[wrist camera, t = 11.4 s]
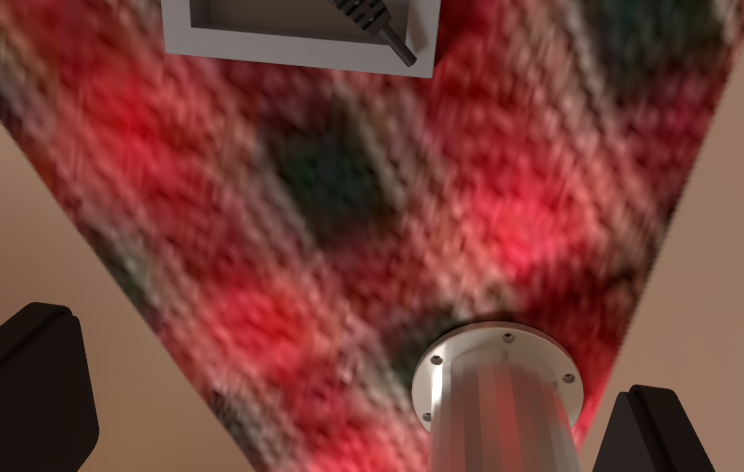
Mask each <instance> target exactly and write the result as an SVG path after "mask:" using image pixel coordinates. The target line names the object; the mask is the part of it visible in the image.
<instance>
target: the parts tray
mask: <svg viewBox="0 0 744 472" xmlns="http://www.w3.org/2000/svg"><path fill="white" fill-rule="evenodd" d="M382 1H383V2H384V5H385V6H386V7H387V9H388V11H389V12H390V14H391V20H390V21H389V22H388V24H389V26H390V27H391V28H392V29H393V30H394V32H395V33H396V34H397V35H398V36H399V37H400V39H401V40H402V41H403V42H404V43H405V45H406V46H407V47H408V48H409V49H410V51H411V52H412V53H413V54H414V55H415V56H416V58H417V61H416V62H415V63H414V65H412V66H411V67H407V66H406V65H405V63H404V62H403V61H402V60H401V59H400V58H399V57H398V55H397V54H396V53H395V52H394V51H393V50H392V48H391V47H390V46H389V45H388V44H387V43H386V42H385V40H384V39H383V38H382V37H381V36H380V35H379V33H377V34H376V35H374V36H370V35H368V34H367V33H366V32H365V31H364V30H363V29H362V28H361V27H359V26H358V25H356V24H355V23H354V21H353V20H350V19H349V18H348V17H347V16H346V15H345V14H344V13H342V12H341V11H339V10H338V8H337V7H336V6H333V5H332V4H331V3H330V2H329V1H328V0H161V4H162V16H163V28H164V40H165V52H166V53H173V54H183V55H194V56H204V57H215V58H225V59H236V60H246V61H257V62H267V63H277V64H288V65H298V66H309V67H319V68H330V69H340V70H351V71H361V72H372V73H382V74H393V75H403V76H414V77H424V78H432V75H433V70H434V62H435V54H436V45H437V36H438V27H439V18H440V10H441V1H442V0H382Z"/></svg>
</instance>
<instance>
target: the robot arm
mask: <svg viewBox="0 0 744 472" xmlns="http://www.w3.org/2000/svg"><path fill="white" fill-rule="evenodd" d="M412 399H413V405H414V408H415V411H416V414H417V416H418V418H419V420H420V421H421V423H422V424H423V426H424V427H425V428H426V430H427V431H428V432H429V433H430V444H429V463H428V472H581V469H580V465H579V461H578V457H577V453H576V449H575V444H574V440H573V436H572V432H571V429H572V427H573V426H574V425H575V423H576V422H577V420H578V417H579V415H580V413H581V410H582V405H583V399H584V394H583V384H582V380H581V377H580V373H579V370H578V368H577V366H576V364H575V362H574V360H573V358H572V357H571V356H570V354H569V353H568V352H567V351H566V349H565V348H564V347H563V346H562V345H560V344H559V343H558V342H557V341H556V340H554V339H553V338H552V337H550V336H548V335H546V334H545V333H543V332H541V331H539V330H537V329H534V328H531V327H528V326H526V325H523V324H517V323H512V322H506V321H486V322H479V323H473V324H469V325H466V326H463V327H460V328H456V329H454V330H452V331H451V332H449V333H447V334H445V335H443V336H441V337H440V338H439V339H438V340H436V341H435V342H434V343H433V344H431V345H430V346H429V348H428V349H427V350H426V351H425V352H424V354H423V355H422V356H421V358H420V360H419V362H418V364H417V366H416V369H415V373H414V376H413V384H412ZM98 437H99V425H98V419H97V414H96V408H95V403H94V398H93V392H92V386H91V381H90V376H89V370H88V364H87V359H86V354H85V348H84V342H83V337H82V331H81V326H80V322H79V319H78V318H77V317H76V316H73V315H72V312H71V310H70V309H69V308H68V307H66V306H61V305H54V304H46V303H39V302H33V303H30V304H28V305H26V306H25V307H24V308H22V309H21V310H20V311H19V312H17V313H16V314H15V315H14V316H13V317H11V318H10V319H9V320H7V321H6V322H5V323H4V324H2V325H1V326H0V472H77V471H78V470H79V468H80V467H81V466H82V464H83V463H84V462H85V460H86V459H87V458H88V456H89V455H90V454H91V452H92V451H93V449H94V448H95V445H96V443H97V440H98ZM592 472H715V470H714V468H713V466H712V464H711V462H710V460H709V458H708V456H707V454H706V452H705V450H704V448H703V446H702V444H701V442H700V440H699V438H698V436H697V434H696V432H695V430H694V428H693V426H692V425H691V423H690V421H689V419H688V417H687V415H686V413H685V411H684V409H683V407H682V405H681V403H680V401H679V399H678V397H677V395H676V394H675V392H674V391H672V390H671V389H666V388H658V387H651V386H644V385H633V386H632V387H631V388H630V390H629V392H620V393H619V394H618V396H617V398H616V401H615V405H614V408H613V410H612V413H611V417H610V420H609V423H608V426H607V429H606V432H605V435H604V438H603V441H602V444H601V447H600V450H599V453H598V457H597V459H596V462H595V465H594V468H593V471H592Z"/></svg>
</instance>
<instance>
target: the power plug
mask: <svg viewBox="0 0 744 472" xmlns="http://www.w3.org/2000/svg"><path fill="white" fill-rule="evenodd" d="M328 1H329V2H330V3H331V4H332V5H333V6H336V7H337V8H338V10H339V11H341V12H342V13H344V14H345V15H346V16H347V17H348V18H349V19H350V20H353V21H354V23H355V24H356V25H358V26H359V27H361V28H362V29H363V30H364V31H365V32H366V33H367V34H368V35H370V36H374V35H376V34H377V33H379V35H380V36H381V37H382V38H383V39H384V40H385V42H386V43H387V44H388V45H389V46H390V47H391V48H392V50H393V51H394V52H395V53H396V54H397V55H398V57H399V58H400V59H401V60H402V61H403V62H404V63H405V65H406V66H407V67H411V66H412V65H414V63H415V62H416V61H417V58H416V56H415V55H414V54H413V53H412V52H411V51H410V49H409V48H408V47H407V46H406V45H405V43H404V42H403V41H402V40H401V39H400V37H399V36H398V35H397V34H396V33H395V32H394V30H393V29H392V28H391V27H390V26H389V24H388V22H389V21H390V20H391V14H390V12H389V11H388V9H387V7H386V6H385V5H384V2H383V1H382V0H328Z"/></svg>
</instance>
